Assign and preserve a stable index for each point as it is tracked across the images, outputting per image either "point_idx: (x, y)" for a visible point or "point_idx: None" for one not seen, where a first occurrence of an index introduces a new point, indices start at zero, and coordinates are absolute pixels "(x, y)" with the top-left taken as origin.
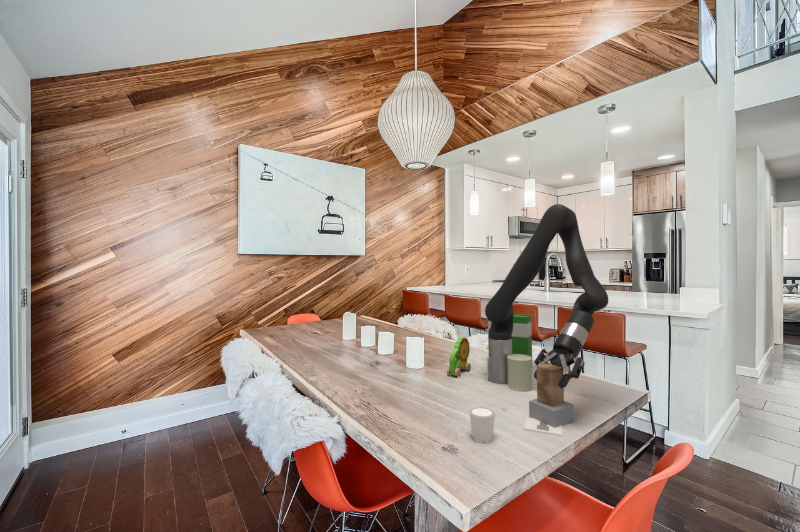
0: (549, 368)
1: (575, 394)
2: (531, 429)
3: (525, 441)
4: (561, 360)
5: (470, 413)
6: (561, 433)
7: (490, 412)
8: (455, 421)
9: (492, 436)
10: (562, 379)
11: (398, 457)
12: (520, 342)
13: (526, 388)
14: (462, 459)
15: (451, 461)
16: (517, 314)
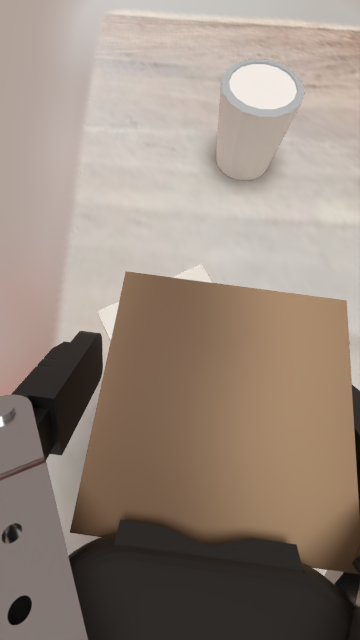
0: (181, 315)
1: None
2: (181, 274)
3: (155, 212)
4: (67, 619)
5: (276, 62)
6: (102, 318)
7: (244, 100)
8: (350, 171)
9: (219, 160)
10: (60, 356)
11: (278, 20)
12: None
13: None
14: (200, 77)
15: (208, 62)
16: None
